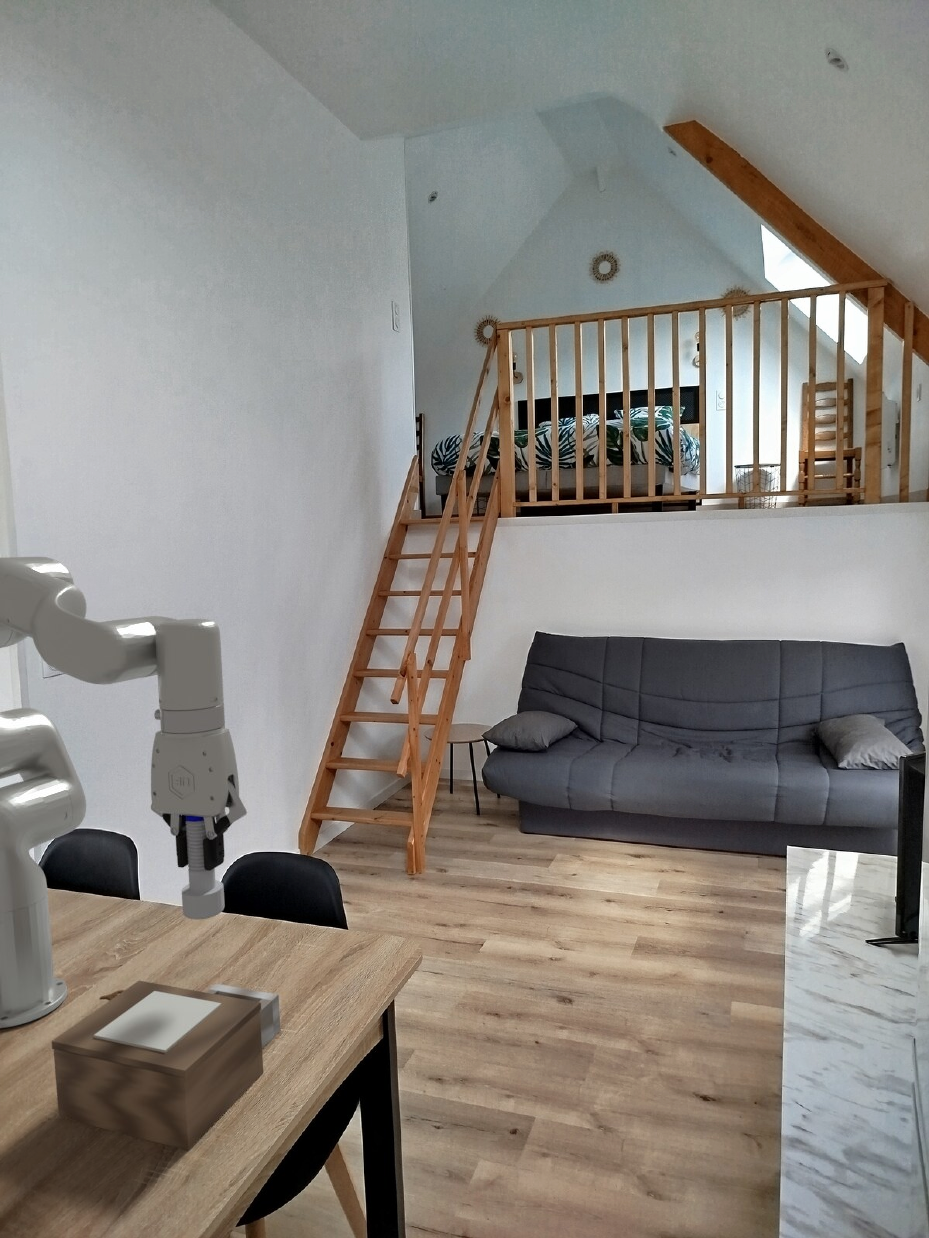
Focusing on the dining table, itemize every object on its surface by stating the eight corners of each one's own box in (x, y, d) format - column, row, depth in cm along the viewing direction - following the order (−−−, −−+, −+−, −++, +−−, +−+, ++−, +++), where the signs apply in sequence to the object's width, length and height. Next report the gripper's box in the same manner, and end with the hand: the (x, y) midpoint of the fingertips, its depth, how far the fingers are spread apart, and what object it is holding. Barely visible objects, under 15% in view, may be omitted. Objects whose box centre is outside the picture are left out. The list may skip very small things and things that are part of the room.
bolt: (229, 902, 108) (218, 920, 103) (190, 904, 108) (177, 921, 103) (223, 783, 107) (211, 795, 102) (183, 784, 107) (170, 796, 102)
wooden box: (57, 1116, 96) (51, 1040, 95) (186, 1012, 117) (182, 950, 116) (190, 1150, 90) (185, 1070, 89) (301, 1034, 111) (297, 968, 110)
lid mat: (93, 1037, 96) (93, 1034, 96) (154, 993, 105) (154, 990, 105) (165, 1052, 92) (165, 1050, 92) (221, 1005, 102) (221, 1003, 102)
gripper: (116, 723, 102) (126, 869, 104) (232, 729, 97) (240, 883, 99) (157, 711, 109) (166, 848, 111) (267, 716, 104) (274, 860, 106)
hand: (201, 863), depth 105 cm, fingers closed on bolt, 3 cm apart
